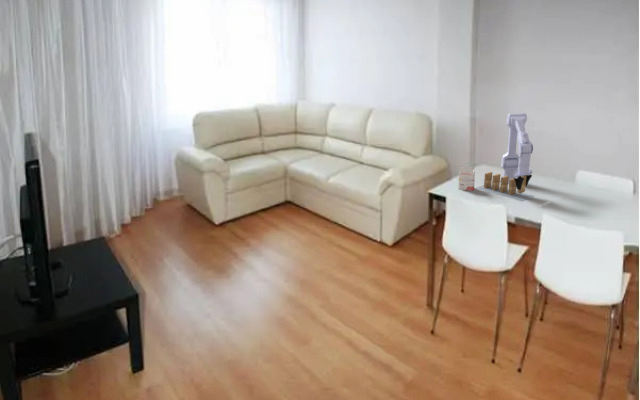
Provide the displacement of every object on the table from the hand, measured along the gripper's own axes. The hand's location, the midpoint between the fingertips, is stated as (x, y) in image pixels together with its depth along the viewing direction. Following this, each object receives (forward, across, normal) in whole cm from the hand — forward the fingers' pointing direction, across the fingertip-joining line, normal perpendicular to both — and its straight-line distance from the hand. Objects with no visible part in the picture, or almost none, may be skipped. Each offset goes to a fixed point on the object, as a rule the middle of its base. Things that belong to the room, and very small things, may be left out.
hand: (521, 188), depth 268 cm
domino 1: (+5, 0, +22) cm, 23 cm away
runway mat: (+5, 0, +10) cm, 12 cm away
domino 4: (+5, 0, +6) cm, 7 cm away
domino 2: (+5, 0, +16) cm, 17 cm away
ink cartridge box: (+6, -11, +29) cm, 32 cm away
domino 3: (+5, 0, +11) cm, 12 cm away
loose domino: (+2, 0, 0) cm, 2 cm away
